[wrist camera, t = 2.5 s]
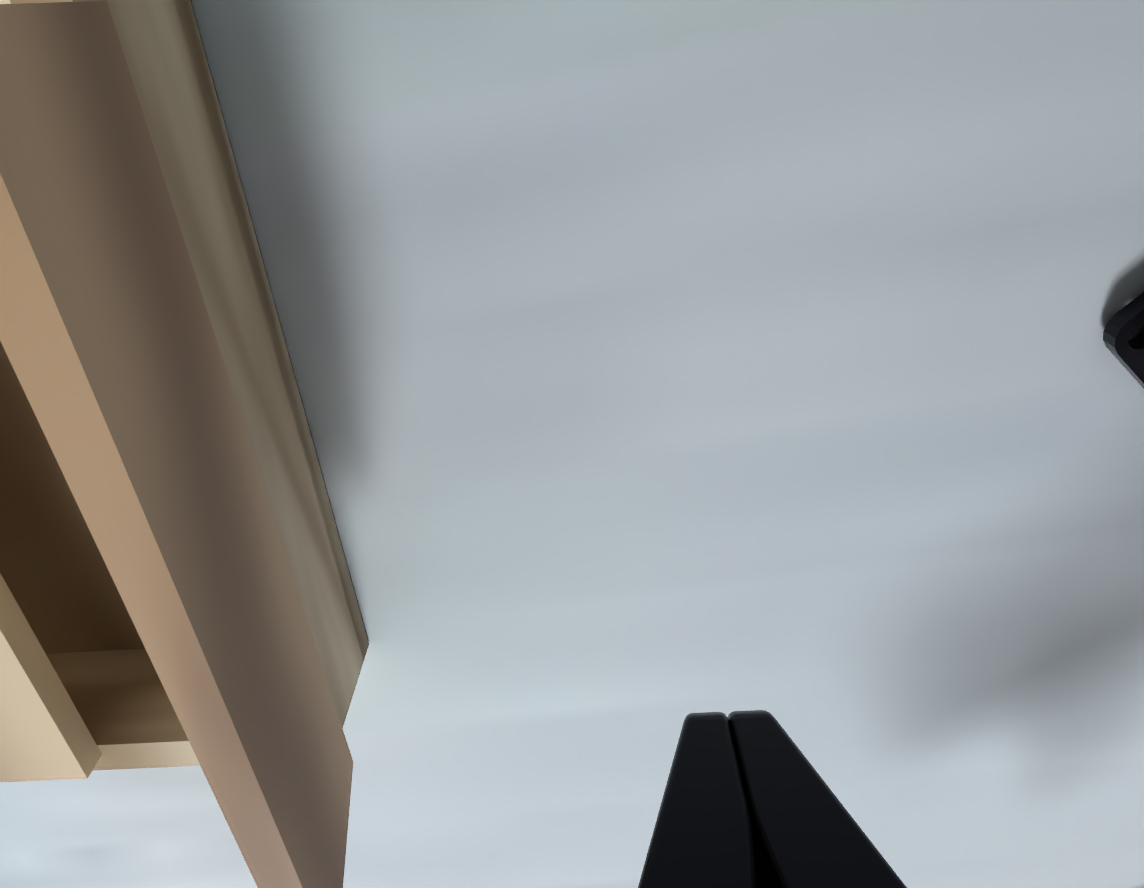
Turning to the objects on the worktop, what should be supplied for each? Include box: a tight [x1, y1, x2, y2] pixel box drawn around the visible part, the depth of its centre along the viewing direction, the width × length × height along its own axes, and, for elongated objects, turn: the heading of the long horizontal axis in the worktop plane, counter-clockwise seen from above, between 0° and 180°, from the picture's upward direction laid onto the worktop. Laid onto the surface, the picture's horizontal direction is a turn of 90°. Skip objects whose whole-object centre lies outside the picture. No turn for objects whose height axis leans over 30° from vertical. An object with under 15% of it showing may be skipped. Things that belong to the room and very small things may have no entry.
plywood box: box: [0, 0, 369, 782], centre depth 15 cm, size 10×15×4 cm, turn 4°
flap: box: [0, 1, 353, 888], centre depth 11 cm, size 4×14×1 cm
